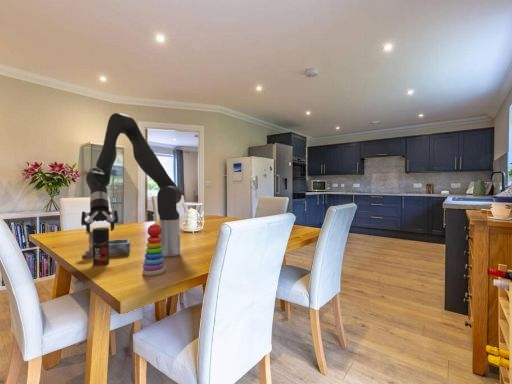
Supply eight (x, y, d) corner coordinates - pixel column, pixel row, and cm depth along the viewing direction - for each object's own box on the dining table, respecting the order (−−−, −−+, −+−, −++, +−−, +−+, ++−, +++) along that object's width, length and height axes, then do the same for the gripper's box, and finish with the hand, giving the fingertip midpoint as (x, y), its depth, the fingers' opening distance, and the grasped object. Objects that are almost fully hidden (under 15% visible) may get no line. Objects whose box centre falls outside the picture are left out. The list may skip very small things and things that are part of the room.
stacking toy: (157, 277, 93) (156, 226, 93) (137, 275, 95) (137, 225, 95) (168, 270, 101) (168, 223, 101) (150, 268, 103) (150, 222, 102)
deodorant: (91, 267, 104) (91, 230, 104) (94, 262, 110) (93, 228, 110) (108, 265, 107) (107, 229, 106) (109, 261, 112) (109, 227, 112)
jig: (130, 249, 134) (130, 227, 133) (129, 254, 123) (129, 230, 123) (87, 252, 126) (86, 229, 126) (82, 258, 116) (81, 233, 115)
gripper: (81, 198, 115) (80, 227, 106) (117, 197, 123) (119, 224, 114) (81, 208, 120) (81, 237, 111) (115, 207, 128) (118, 234, 119)
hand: (100, 230), depth 112 cm, fingers open, 8 cm apart
